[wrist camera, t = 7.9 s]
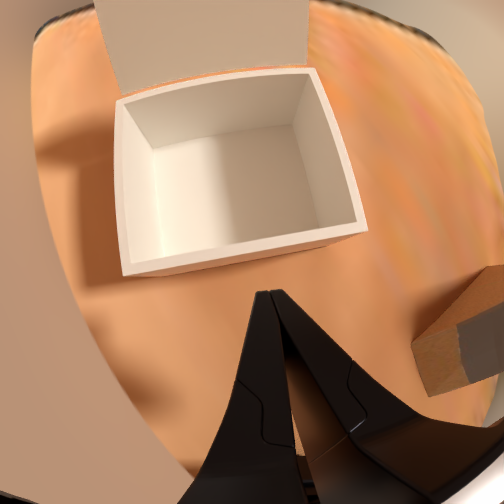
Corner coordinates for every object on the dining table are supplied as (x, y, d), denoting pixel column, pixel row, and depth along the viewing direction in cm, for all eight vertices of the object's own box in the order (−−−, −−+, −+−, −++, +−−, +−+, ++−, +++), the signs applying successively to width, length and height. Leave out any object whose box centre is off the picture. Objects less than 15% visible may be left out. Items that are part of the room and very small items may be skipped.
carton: (327, 245, 23) (368, 230, 15) (162, 276, 22) (122, 276, 14) (295, 121, 23) (314, 67, 15) (148, 147, 23) (116, 100, 15)
